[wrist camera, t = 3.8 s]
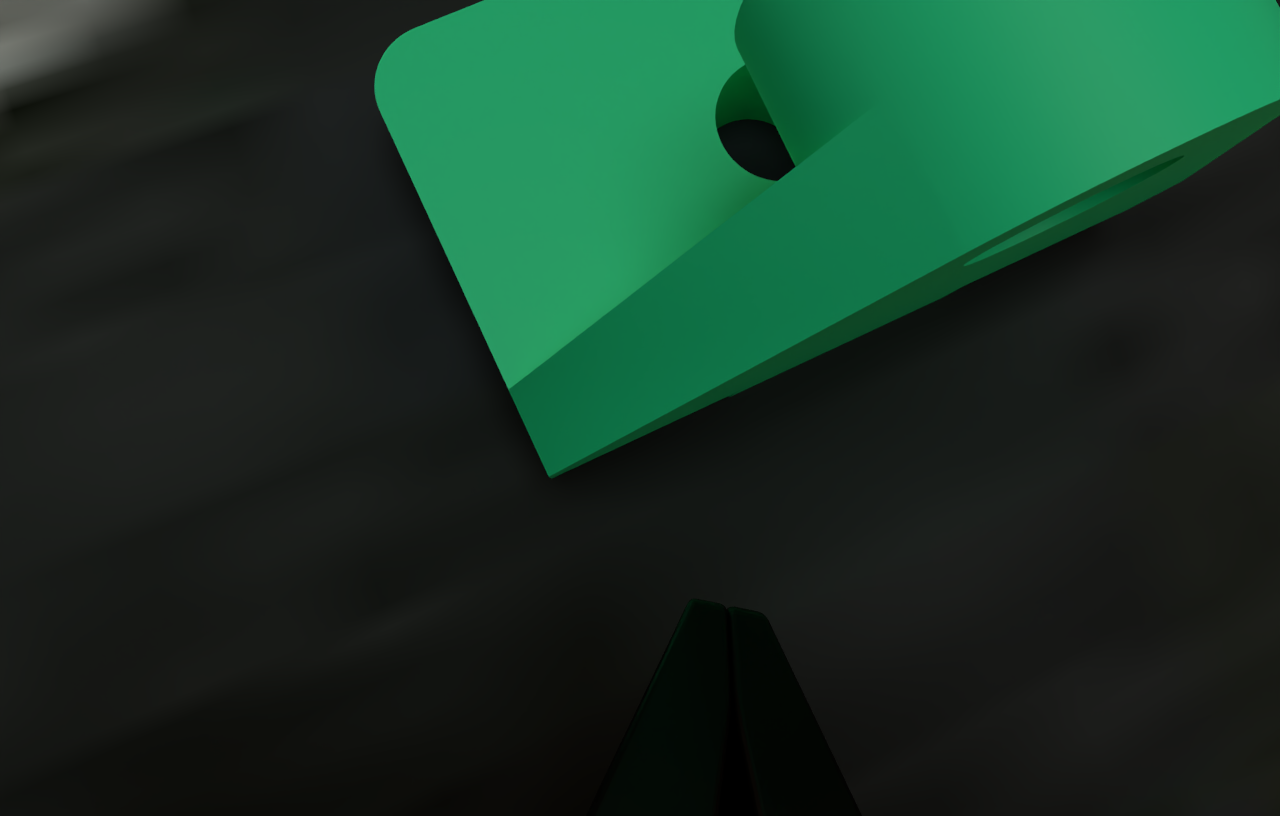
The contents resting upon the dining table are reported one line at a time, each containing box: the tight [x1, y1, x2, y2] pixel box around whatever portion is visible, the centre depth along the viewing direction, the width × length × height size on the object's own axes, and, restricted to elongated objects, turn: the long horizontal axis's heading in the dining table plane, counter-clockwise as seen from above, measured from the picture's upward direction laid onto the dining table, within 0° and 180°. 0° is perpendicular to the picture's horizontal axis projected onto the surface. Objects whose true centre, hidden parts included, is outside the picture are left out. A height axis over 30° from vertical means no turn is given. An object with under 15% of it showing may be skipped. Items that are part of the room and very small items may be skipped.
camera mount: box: [375, 0, 1280, 478], centre depth 12 cm, size 12×8×10 cm, turn 115°
